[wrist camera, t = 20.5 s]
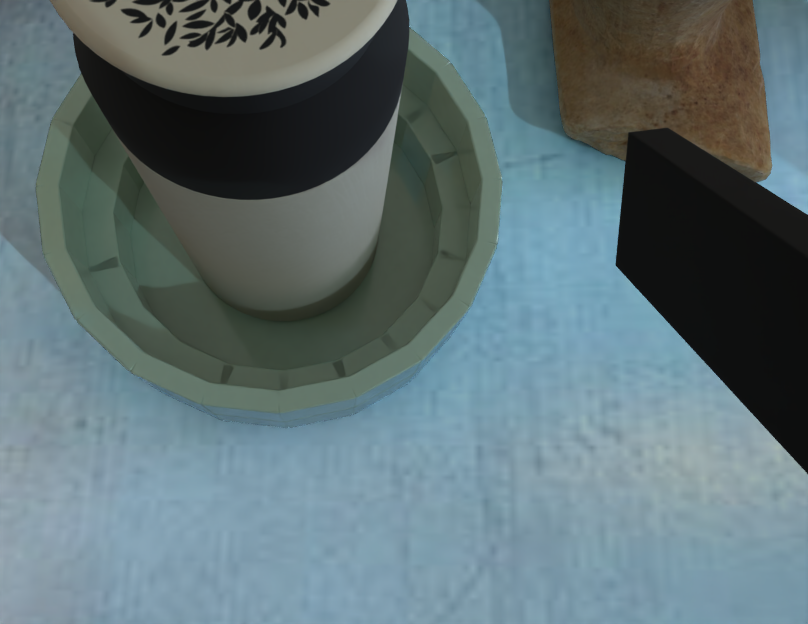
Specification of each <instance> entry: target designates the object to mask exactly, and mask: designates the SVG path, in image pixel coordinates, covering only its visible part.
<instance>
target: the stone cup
mask: <svg viewBox="0 0 808 624" xmlns="http://www.w3.org/2000/svg"><path fill="white" fill-rule="evenodd" d="M549 3H550V14H551V25H552V37H553V49H554V58H555V66H556V75H557V85H558V96H559V108H560V115H561V120H562V125H563V129H564V131H565V133H566V134H567V135H568V136H569V137H571V138H572V139H575V140H580V141H582V142H584V143H586V144H588V145H590V146H592V147H593V148H595V149H597V150H598V151H600V152H602V153H604V154H606V155H613V156H615V157H617V158H619V159H621V160H625V161H626V153H627V142H628V132H635V131H643V130H651V129H660V128H669V129H671V130H673V131H674V132H676V133H677V134H679V135H681V136H682V137H684V138H685V139H687V140H689V141H690V142H692V143H693V144H695V145H697V146H698V147H700V148H701V149H703V150H705V151H706V152H708V153H709V154H711V155H713V156H714V157H716V158H717V159H719V160H721V161H722V162H724V163H725V164H727V165H729V166H730V167H732V168H733V169H735V170H737V171H738V172H740V173H741V174H743V175H745V176H746V177H748V178H749V179H751V180H753V181H754V182H759V181H762V180H765V179H766V178H767V177H768V176H769V175H770V173H771V169H772V160H771V150H770V133H769V125H768V117H767V105H766V94H765V86H764V79H763V75H762V71H761V67H760V50H759V42H758V35H757V28H756V21H755V14H754V7H753V0H549Z"/></svg>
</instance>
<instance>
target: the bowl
mask: <svg viewBox="0 0 808 624" xmlns="http://www.w3.org/2000/svg"><path fill="white" fill-rule="evenodd" d="M409 32H410V33H409V47H408V53H407V59H406V66H405V72H404V79H403V85H402V91H401V98H400V104H399V110H398V117H397V123H396V130H395V136H394V142H393V149H392V155H391V162H390V168H389V174H388V181H387V187H386V194H385V200H384V206H383V213H382V219H381V225H380V232H379V238H378V244H377V250H376V254H375V257H374V260H373V263H372V265H371V268H370V270H369V272H368V273H367V275H366V277H365V278H364V280H363V281H362V283H361V284H360V285H359V287H358V288H357V289H356V290H355V291H354V292H353V293H352V294H351V295H350V296H349V297H348V298H347V299H345V300H344V301H343V302H342V303H340V304H339V305H337V306H336V307H334V308H332V309H330V310H328V311H326V312H324V313H322V314H319V315H317V316H314V317H310V318H307V319H302V320H295V321H270V320H265V319H260V318H256V317H252V316H250V315H247V314H244V313H242V312H240V311H238V310H236V309H234V308H232V307H231V306H229V305H228V304H226V303H225V302H224V301H222V300H221V299H220V298H219V297H218V296H217V295H215V294H214V293H213V292H212V290H211V289H210V288H209V287H208V286H207V285H206V283H205V282H204V280H203V279H202V277H201V276H200V274H199V272H198V271H197V269H196V267H195V266H194V264H193V262H192V261H191V259H190V257H189V256H188V254H187V252H186V251H185V249H184V247H183V246H182V244H181V242H180V241H179V239H178V237H177V236H176V234H175V232H174V231H173V229H172V227H171V226H170V224H169V222H168V221H167V219H166V217H165V216H164V214H163V212H162V211H161V209H160V207H159V206H158V204H157V202H156V201H155V199H154V198H153V196H152V194H151V193H150V191H149V189H148V188H147V186H146V184H145V183H144V181H143V179H142V178H141V176H140V174H139V173H138V171H137V169H136V168H135V166H134V164H133V163H132V161H131V159H130V158H129V156H128V154H127V153H126V151H125V149H124V148H123V146H122V144H121V143H120V141H119V139H118V138H117V136H116V134H115V133H114V131H113V129H112V128H111V126H110V124H109V123H108V121H107V119H106V118H105V116H104V114H103V113H102V111H101V109H100V108H99V106H98V104H97V103H96V101H95V99H94V98H93V96H92V94H91V92H90V91H89V89H88V87H87V85H86V83H85V81H84V78H83V76H82V73H81V75H80V76H79V78H78V79H77V81H76V82H75V84H74V85H73V87H72V89H71V90H70V92H69V93H68V95H67V96H66V98H65V99H64V101H63V102H62V104H61V106H60V107H59V109H58V110H57V112H56V113H55V115H54V116H53V118H52V120H51V124H50V128H49V132H48V136H47V141H46V145H45V149H44V153H43V157H42V161H41V165H40V169H39V173H38V177H37V181H36V196H37V205H38V215H39V224H40V233H41V242H42V251H43V255H44V259H45V261H46V263H47V265H48V267H49V269H50V271H51V273H52V275H53V277H54V279H55V281H56V283H57V285H58V287H59V289H60V291H61V293H62V295H63V297H64V299H65V301H66V303H67V305H68V307H69V309H70V311H71V313H72V315H73V317H74V319H75V320H77V322H78V324H79V325H81V326H82V327H83V328H84V329H85V330H86V331H87V332H88V333H89V334H90V335H91V336H92V337H93V338H94V339H95V340H96V341H97V342H98V343H99V344H100V345H102V346H103V347H104V348H105V349H106V350H107V351H108V352H109V353H110V354H111V355H112V356H113V357H114V358H115V359H116V360H117V361H118V362H119V363H120V364H121V365H122V366H124V367H125V368H126V369H127V370H128V371H129V372H131V373H132V374H133V375H135V376H136V377H138V378H140V379H141V380H143V381H144V382H146V383H148V384H149V385H151V386H152V387H154V388H156V389H157V390H159V391H160V392H162V393H164V394H165V395H167V396H169V397H172V398H174V399H176V400H178V401H180V402H183V403H185V404H187V405H189V406H191V407H193V408H196V409H198V410H200V411H202V412H204V413H207V414H209V415H211V416H213V417H215V418H217V419H220V420H224V421H227V422H236V423H245V424H254V425H263V426H272V427H281V428H288V427H289V428H293V427H298V426H302V425H307V424H312V423H317V422H322V421H327V420H332V419H337V418H342V417H346V416H351V415H352V414H356V413H358V412H359V411H361V410H363V409H365V408H367V407H368V406H370V405H372V404H374V403H375V402H377V401H379V400H381V399H382V398H384V397H386V396H388V395H390V394H391V393H393V392H395V391H397V390H398V389H400V388H402V387H404V386H405V385H407V384H408V383H409V382H411V380H412V379H413V378H414V377H415V376H416V375H417V374H418V373H419V372H420V371H421V369H422V368H423V367H424V366H425V365H426V364H427V363H428V362H429V361H430V360H431V358H432V357H433V356H434V355H435V354H436V353H437V352H438V351H439V350H440V349H441V347H442V346H443V345H444V344H445V343H446V342H447V341H448V340H449V338H450V337H451V335H452V334H453V332H454V331H455V330H456V328H457V327H458V325H459V324H460V322H461V321H462V319H463V318H464V316H465V315H466V313H467V312H468V310H469V309H470V307H471V306H472V303H473V301H474V299H475V296H476V294H477V292H478V290H479V287H480V285H481V283H482V280H483V278H484V276H485V273H486V271H487V269H488V267H489V264H490V262H491V260H492V257H493V255H494V253H495V250H496V248H497V244H498V235H499V222H500V208H501V195H502V182H503V181H502V175H501V172H500V168H499V164H498V160H497V156H496V152H495V149H494V145H493V141H492V137H491V133H490V129H489V126H488V122H487V118H486V117H485V114H484V113H483V111H482V110H481V108H480V107H479V105H478V104H477V102H476V100H475V99H474V97H473V96H472V94H471V93H470V91H469V90H468V88H467V86H466V85H465V83H464V82H463V80H462V79H461V77H460V76H459V74H458V73H457V71H456V69H455V68H454V66H453V65H452V64H451V63H450V61H449V60H448V59H447V58H445V57H444V56H443V55H442V54H441V53H440V52H438V51H437V50H436V49H435V48H434V47H432V46H431V45H430V44H429V43H428V42H426V41H425V40H424V39H423V38H422V37H420V36H419V35H418V34H417V33H416V32H415V31H413V30H412V29H411V28H410V27H409Z"/></svg>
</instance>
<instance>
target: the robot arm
mask: <svg viewBox="0 0 808 624" xmlns="http://www.w3.org/2000/svg"><path fill="white" fill-rule="evenodd" d="M616 266H617V267H618V268H619V270H620V271H621V272H622V273H623V274H624V275H625V276H626V277H627V278H628V279H629V280H630V282H631V283H632V284H633V285H634V286H635V287H636V288H637V289H638V290H639V291H640V292H641V293H642V295H643V296H644V297H645V298H646V299H647V300H648V301H649V302H650V303H651V304H652V305H653V306H654V308H655V309H656V310H657V311H658V312H659V313H660V314H661V315H662V316H663V317H664V318H665V320H666V321H667V322H668V323H669V324H670V325H671V326H672V327H673V328H674V329H675V330H676V331H677V333H678V334H679V335H680V336H681V337H682V338H683V339H684V340H685V341H686V342H687V343H688V344H689V346H690V347H691V348H692V349H693V350H694V351H695V352H696V353H697V354H698V355H699V356H700V357H701V359H702V360H703V361H704V362H705V363H706V364H707V365H708V366H709V367H710V368H711V369H712V371H713V372H714V373H715V374H716V375H717V376H718V377H719V378H720V379H721V380H722V381H723V382H724V384H725V385H726V386H727V387H728V388H729V389H730V390H731V391H732V392H733V393H734V394H735V395H736V397H737V398H738V399H739V400H740V401H741V402H742V403H743V404H744V405H745V406H746V407H747V409H748V410H749V411H750V412H751V413H752V414H753V415H754V416H755V417H756V418H757V419H758V420H759V422H760V423H761V424H762V425H763V426H764V427H765V428H766V429H767V430H768V431H769V432H770V433H771V435H772V436H773V437H774V438H775V439H776V440H777V441H778V442H779V443H780V444H781V445H782V446H783V448H784V449H785V450H786V451H787V452H788V453H789V454H790V455H791V456H792V457H793V458H794V460H795V461H796V462H797V463H798V464H799V465H800V466H801V467H802V468H803V469H804V470H805V471H806V473H807V474H808V215H807V214H805V213H804V212H802V211H801V210H799V209H797V208H796V207H794V206H793V205H791V204H789V203H788V202H786V201H785V200H783V199H781V198H780V197H778V196H777V195H775V194H773V193H772V192H770V191H769V190H767V189H765V188H764V187H762V186H761V185H759V184H757V183H756V182H754V181H753V180H751V179H749V178H748V177H746V176H745V175H743V174H741V173H740V172H738V171H737V170H735V169H733V168H732V167H730V166H729V165H727V164H725V163H724V162H722V161H721V160H719V159H717V158H716V157H714V156H713V155H711V154H709V153H708V152H706V151H705V150H703V149H701V148H700V147H698V146H697V145H695V144H693V143H692V142H690V141H689V140H687V139H685V138H684V137H682V136H681V135H679V134H677V133H676V132H674V131H673V130H671V129H669V128H660V129H651V130H643V131H635V132H628V142H627V153H626V163H625V173H624V183H623V194H622V204H621V214H620V225H619V235H618V245H617V256H616Z"/></svg>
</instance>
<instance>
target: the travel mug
mask: <svg viewBox="0 0 808 624" xmlns="http://www.w3.org/2000/svg"><path fill="white" fill-rule="evenodd" d="M50 1H51V3H52V4H53V6H54V8H55V9H56V11H57V13H58V14H59V16H60V17H61V18H62V20H63V21H64V22H65V23H66V25H67V26H68V27H69V29H70V30H71V31H72V32H73V39H74V46H75V53H76V57H77V61H78V64H79V68H80V71H81V73H82V76H83V78H84V81H85V83H86V85H87V87H88V89H89V91H90V92H91V94H92V96H93V98H94V99H95V101H96V103H97V104H98V106H99V108H100V109H101V111H102V113H103V114H104V116H105V118H106V119H107V121H108V123H109V124H110V126H111V128H112V129H113V131H114V133H115V134H116V136H117V138H118V139H119V141H120V143H121V144H122V146H123V148H124V149H125V151H126V153H127V154H128V156H129V158H130V159H131V161H132V163H133V164H134V166H135V168H136V169H137V171H138V173H139V174H140V176H141V178H142V179H143V181H144V183H145V184H146V186H147V188H148V189H149V191H150V193H151V194H152V196H153V198H154V199H155V201H156V202H157V204H158V206H159V207H160V209H161V211H162V212H163V214H164V216H165V217H166V219H167V221H168V222H169V224H170V226H171V227H172V229H173V231H174V232H175V234H176V236H177V237H178V239H179V241H180V242H181V244H182V246H183V247H184V249H185V251H186V252H187V254H188V256H189V257H190V259H191V261H192V262H193V264H194V266H195V267H196V269H197V271H198V272H199V274H200V276H201V277H202V279H203V280H204V282H205V283H206V285H207V286H208V287H209V288H210V289H211V290H212V292H213V293H214V294H215V295H217V296H218V297H219V298H220V299H221V300H222V301H224V302H225V303H226V304H228V305H229V306H231V307H232V308H234V309H236V310H238V311H240V312H242V313H244V314H247V315H250V316H252V317H256V318H260V319H265V320H270V321H295V320H302V319H307V318H310V317H314V316H317V315H319V314H322V313H324V312H326V311H328V310H330V309H332V308H334V307H336V306H337V305H339V304H340V303H342V302H343V301H344V300H345V299H347V298H348V297H349V296H350V295H351V294H352V293H353V292H354V291H355V290H356V289H357V288H358V287H359V285H360V284H361V283H362V281H363V280H364V278H365V277H366V275H367V273H368V272H369V270H370V268H371V265H372V263H373V260H374V257H375V254H376V250H377V244H378V238H379V232H380V225H381V219H382V213H383V206H384V200H385V194H386V187H387V181H388V174H389V168H390V162H391V155H392V149H393V142H394V136H395V130H396V123H397V117H398V110H399V104H400V98H401V91H402V85H403V79H404V72H405V66H406V59H407V53H408V47H409V33H410V32H409V15H408V9H407V3H406V0H50Z"/></svg>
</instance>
